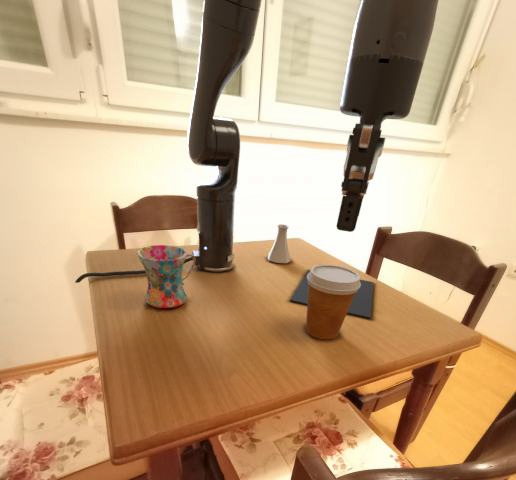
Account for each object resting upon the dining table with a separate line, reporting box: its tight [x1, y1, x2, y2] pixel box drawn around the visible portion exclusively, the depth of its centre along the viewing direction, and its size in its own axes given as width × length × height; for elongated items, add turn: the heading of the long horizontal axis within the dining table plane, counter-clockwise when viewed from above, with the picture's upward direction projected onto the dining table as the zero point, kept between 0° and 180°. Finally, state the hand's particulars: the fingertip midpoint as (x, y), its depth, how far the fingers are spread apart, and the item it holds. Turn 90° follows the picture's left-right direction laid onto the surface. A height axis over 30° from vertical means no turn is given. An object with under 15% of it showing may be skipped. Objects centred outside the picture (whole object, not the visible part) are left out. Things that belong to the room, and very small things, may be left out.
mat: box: [289, 269, 374, 320], centre depth 78 cm, size 22×18×1 cm
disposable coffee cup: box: [305, 263, 361, 340], centre depth 58 cm, size 10×10×12 cm
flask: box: [267, 224, 292, 264], centre depth 92 cm, size 7×7×10 cm
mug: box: [136, 244, 196, 309], centre depth 64 cm, size 12×9×11 cm
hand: (347, 223), depth 41 cm, fingers open, 8 cm apart
